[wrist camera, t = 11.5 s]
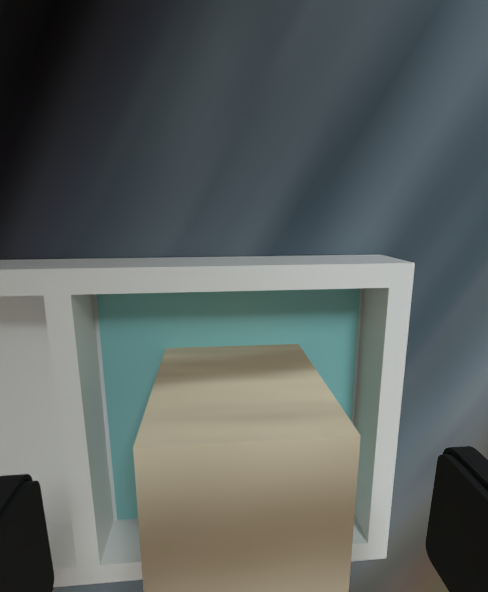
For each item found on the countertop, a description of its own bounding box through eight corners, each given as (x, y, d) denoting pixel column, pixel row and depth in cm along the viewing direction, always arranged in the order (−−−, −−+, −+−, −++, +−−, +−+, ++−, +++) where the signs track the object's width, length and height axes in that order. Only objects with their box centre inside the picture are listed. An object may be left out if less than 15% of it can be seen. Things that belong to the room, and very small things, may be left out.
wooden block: (165, 347, 14) (132, 447, 8) (298, 343, 14) (360, 434, 8) (171, 466, 15) (146, 630, 9) (294, 459, 15) (347, 611, 9)
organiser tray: (-263, 263, 12) (-377, 275, 10) (380, 254, 14) (414, 262, 12) (-176, 548, 15) (-251, 613, 13) (360, 508, 17) (385, 558, 15)
